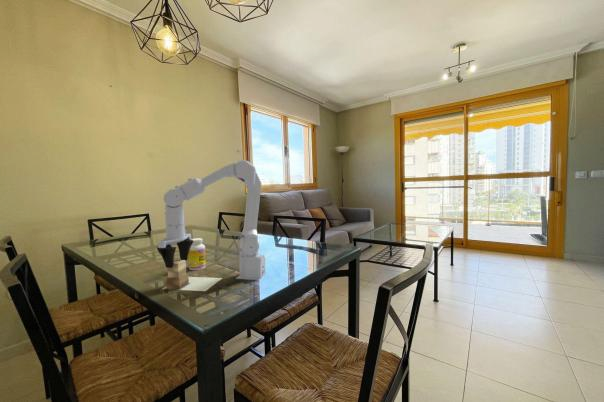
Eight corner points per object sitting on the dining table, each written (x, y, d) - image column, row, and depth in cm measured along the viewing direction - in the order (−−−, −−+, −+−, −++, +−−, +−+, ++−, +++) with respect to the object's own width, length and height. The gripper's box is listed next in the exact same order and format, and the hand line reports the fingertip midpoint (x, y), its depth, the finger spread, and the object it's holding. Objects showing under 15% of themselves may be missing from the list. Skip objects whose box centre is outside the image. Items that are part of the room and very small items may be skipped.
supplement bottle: (199, 271, 103) (198, 241, 103) (185, 271, 104) (184, 240, 104) (209, 266, 110) (208, 237, 109) (195, 266, 111) (194, 237, 110)
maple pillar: (186, 274, 88) (185, 260, 88) (178, 278, 84) (178, 263, 84) (175, 273, 89) (175, 259, 88) (168, 277, 85) (167, 263, 84)
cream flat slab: (222, 279, 94) (222, 278, 93) (205, 292, 82) (205, 291, 82) (183, 278, 96) (183, 276, 96) (161, 290, 84) (161, 288, 84)
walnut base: (188, 283, 89) (188, 273, 88) (179, 289, 84) (179, 278, 84) (176, 282, 89) (175, 273, 89) (166, 288, 84) (165, 278, 84)
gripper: (178, 221, 93) (180, 257, 94) (148, 228, 79) (150, 270, 80) (195, 221, 92) (197, 258, 93) (168, 228, 78) (170, 271, 79)
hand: (177, 263), depth 86 cm, fingers open, 7 cm apart
